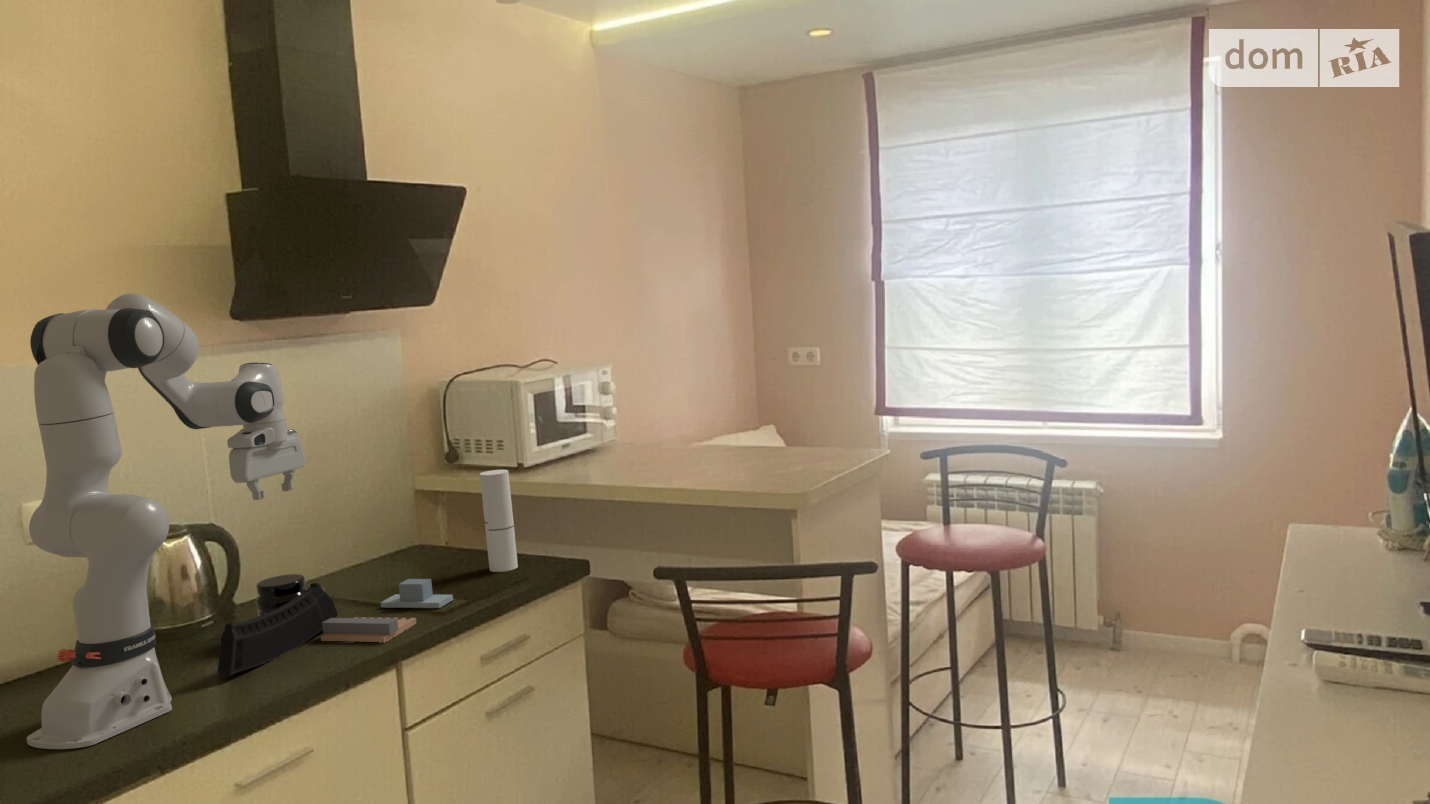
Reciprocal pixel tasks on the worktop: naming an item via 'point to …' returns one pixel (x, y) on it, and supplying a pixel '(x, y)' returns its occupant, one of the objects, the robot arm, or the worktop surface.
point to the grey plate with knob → (416, 596)
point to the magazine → (274, 631)
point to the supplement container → (278, 591)
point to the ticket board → (371, 637)
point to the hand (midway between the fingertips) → (273, 495)
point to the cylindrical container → (498, 520)
